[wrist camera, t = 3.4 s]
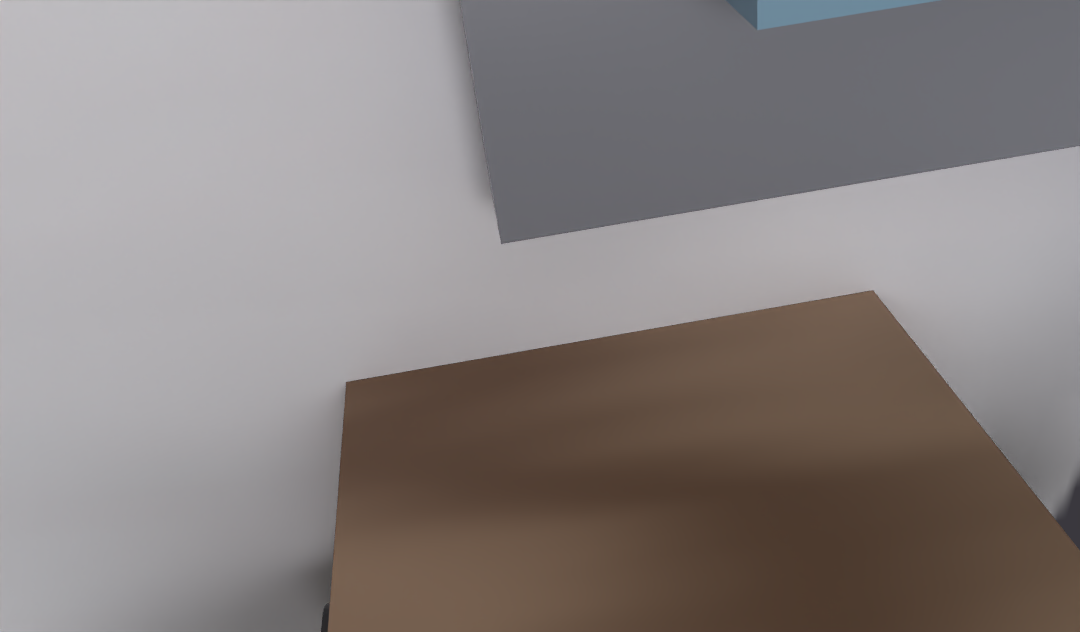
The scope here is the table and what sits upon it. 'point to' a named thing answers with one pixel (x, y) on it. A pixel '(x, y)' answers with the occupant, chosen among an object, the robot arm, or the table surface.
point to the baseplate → (754, 98)
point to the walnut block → (691, 490)
